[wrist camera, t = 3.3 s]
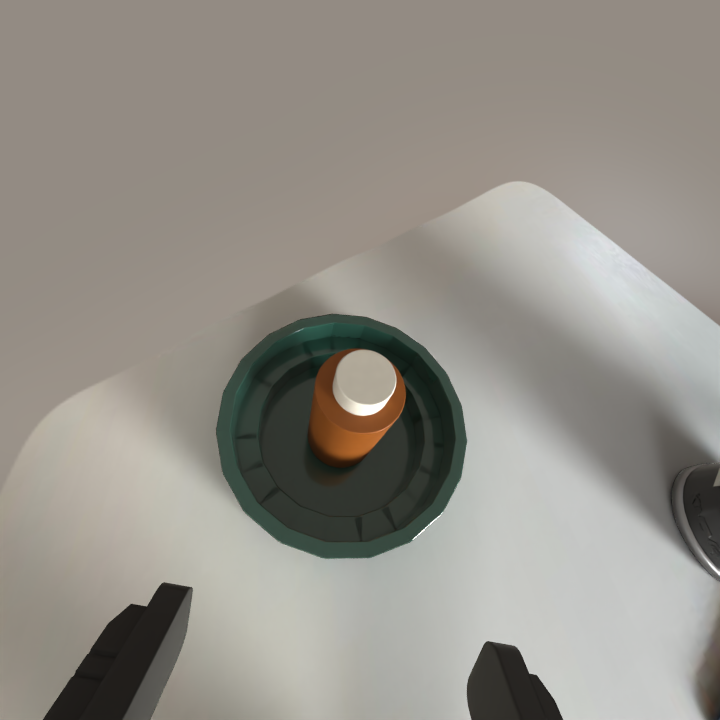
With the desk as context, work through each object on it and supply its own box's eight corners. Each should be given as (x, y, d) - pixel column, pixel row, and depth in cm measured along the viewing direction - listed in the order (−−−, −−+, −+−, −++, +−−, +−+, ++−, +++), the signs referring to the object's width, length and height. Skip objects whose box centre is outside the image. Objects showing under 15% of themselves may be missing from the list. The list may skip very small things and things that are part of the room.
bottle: (372, 404, 27) (410, 337, 19) (374, 468, 25) (418, 427, 16) (309, 401, 26) (318, 329, 18) (305, 467, 24) (313, 422, 16)
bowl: (429, 352, 31) (449, 324, 27) (452, 555, 24) (484, 556, 20) (246, 337, 29) (239, 304, 25) (209, 557, 21) (191, 560, 18)
